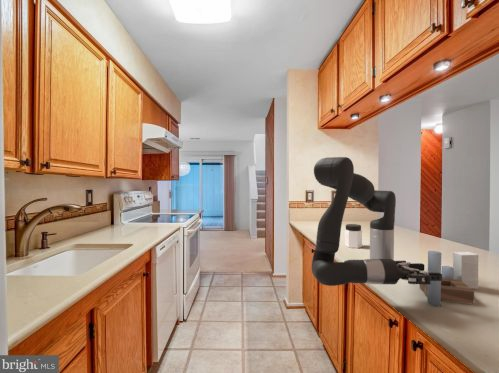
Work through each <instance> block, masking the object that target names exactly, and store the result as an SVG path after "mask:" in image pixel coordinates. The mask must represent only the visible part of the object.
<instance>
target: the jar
mask: <svg viewBox="0 0 499 373" xmlns="http://www.w3.org/2000/svg"><path fill="white" fill-rule="evenodd" d="M344 246H345V247H347V248H351V249H360V248H362V247H363V230H362V225H361V224H356V223H348V224H345V229H344Z"/></svg>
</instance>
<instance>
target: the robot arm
mask: <svg viewBox="0 0 499 373" xmlns="http://www.w3.org/2000/svg"><path fill="white" fill-rule="evenodd" d="M353 163H354V162H353V161H352V159H351V158H349V157H347V156H337V157H336V156H335V157H334V156H332V157H323V158H320V159H319V160H318V161H316V162H315V164H314V168H313V175H314V178H315V180H316V182H318V183H319V184H320V185H321V186H324V187H328V188H330V189H333V190H335V195H334V197H333V199H332V201H331V203H330V204H329V205H328V207H327V209H326V210H325V211H324V213H323V214H322V216H321V218H320V220H319V221H318V224H317V232H316V239H315V249H314V251H313V256H312V261H311V272H312V276H314V278H315V280H316V281H317V282H318V283H319V284H321V285H323V286H327V287H330V286H331V287H333V286H334V287H335V286H342V285H347V284H367V285H396V284H398V282H399V281H400V280H402V281H407V284H410V285H419V284H426V285H430V284H431V281H441V280H442V272H441V273H428V271H427V272H425V264H424V263H421V262H419V263H418V262H417V263H416V262H415V263H413V262H408V261H406V260H395V219H396V218H395V217H396V216H395V215H396V203H397V201H396V194H395V192H394V191H392V190H378V189H377V190H376V189H375V186H374V184H373V182H372V181H371V180H369V179H368V178H367V177H365V176H363V175H361V174H359V173H355V169H354V167H355V166H354V164H353ZM349 199H350V200H351V199H352V200H353V201H355V202H357V203H358V204H361V205H362V206H364V207H365V208H366V209H367V210H369V211H371V212H376V213H383V216H382V217H380V218H377V219H373V220H371V221H370V222H369V258H366V259H347V260H344V262H343V261H337V262H335V257H336V256H335V255H336V253H337V252H338V251H339V248H340V243H341V242H340V241H341V231H342V224H343V219H344V215H345V210H346V208H347V203H348V200H349ZM423 278H424V279H423Z"/></svg>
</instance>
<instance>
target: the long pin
mask: <svg viewBox="0 0 499 373" xmlns="http://www.w3.org/2000/svg"><path fill="white" fill-rule="evenodd" d="M427 273H441V274H442V252H440V251H436V250H428V252H427ZM426 297H427V300H426V301H427V302H426V303H427V304H428V305H430V306H432V307H441V304H442V301H441V281H431V284H430V285H428V290H427V296H426Z"/></svg>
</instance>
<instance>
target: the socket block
mask: <svg viewBox="0 0 499 373" xmlns="http://www.w3.org/2000/svg"><path fill="white" fill-rule="evenodd" d="M423 279H424V278H423ZM418 285H419V288H420V290H421V292H422V293H423V294H424V295H425V296H426V297H427V290H428V285H426V284H418ZM448 301H450V302H449V303H457V302H458V303H460V304H469V305H474V304H475V290H473V289H471V288H469V287H468V286H467V285H466V284H465V283H463V282H462V281H461V280H459V279H447V278H442V280H441V302H448Z"/></svg>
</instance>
